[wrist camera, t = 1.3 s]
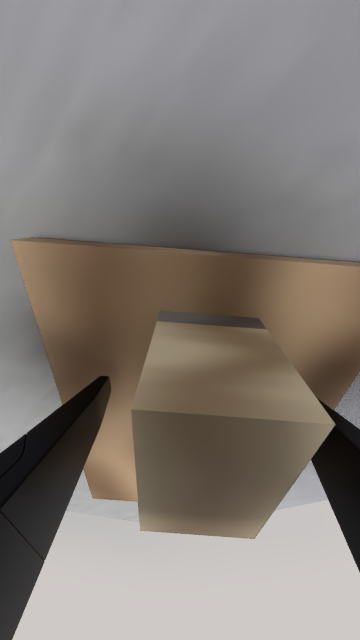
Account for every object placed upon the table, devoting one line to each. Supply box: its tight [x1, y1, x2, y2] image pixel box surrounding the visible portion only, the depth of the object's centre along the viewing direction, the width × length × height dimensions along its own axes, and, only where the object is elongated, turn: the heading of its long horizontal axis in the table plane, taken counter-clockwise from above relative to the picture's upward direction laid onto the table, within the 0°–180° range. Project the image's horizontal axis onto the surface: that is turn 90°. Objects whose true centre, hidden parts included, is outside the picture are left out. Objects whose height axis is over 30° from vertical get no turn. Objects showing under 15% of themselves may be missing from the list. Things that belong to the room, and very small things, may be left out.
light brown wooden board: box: [10, 237, 360, 502], centre depth 13 cm, size 16×22×1 cm
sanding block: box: [131, 311, 336, 539], centre depth 8 cm, size 4×7×5 cm, turn 176°
